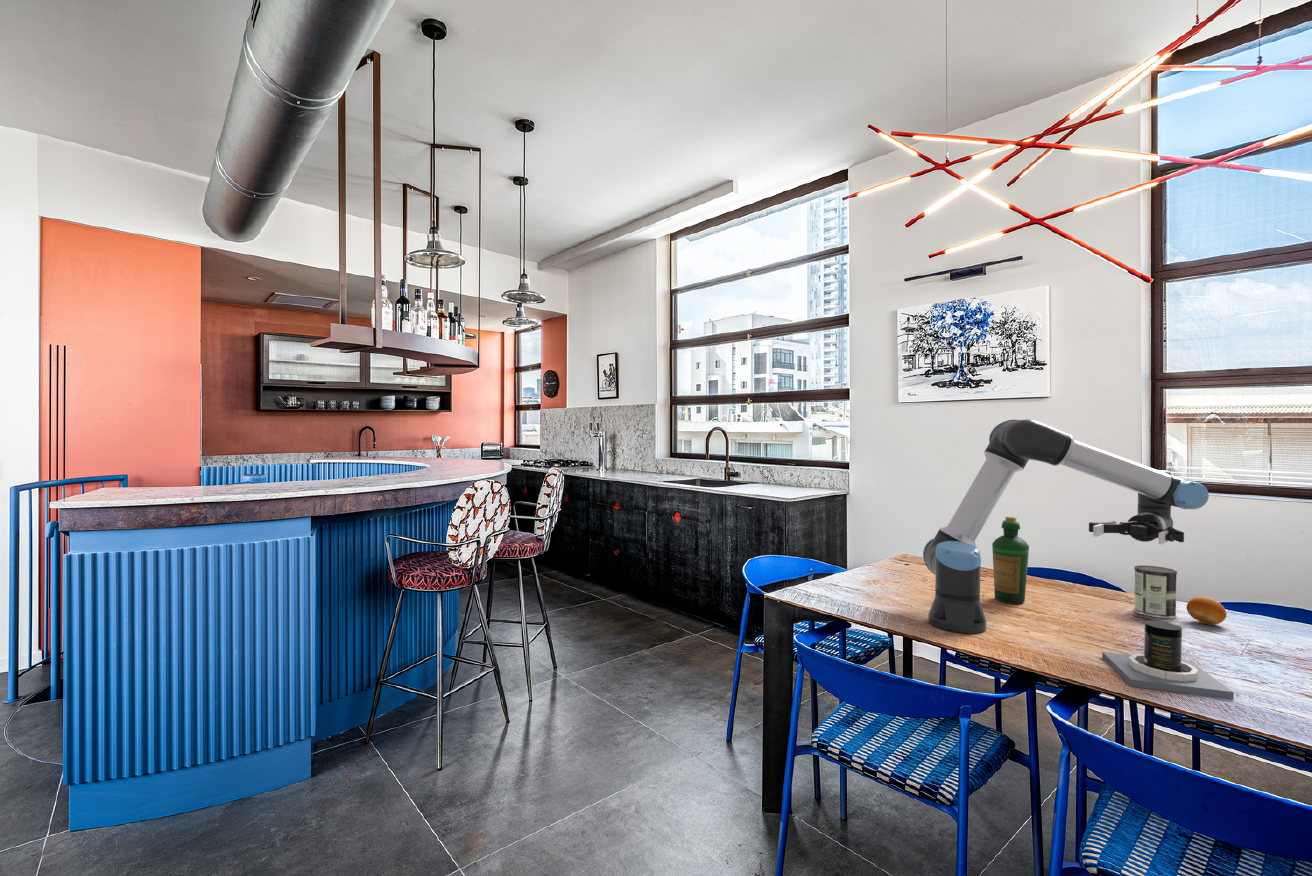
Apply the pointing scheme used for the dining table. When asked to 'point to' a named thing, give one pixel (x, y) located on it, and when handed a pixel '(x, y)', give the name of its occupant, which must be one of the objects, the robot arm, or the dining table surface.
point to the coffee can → (1155, 591)
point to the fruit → (1206, 610)
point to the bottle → (1010, 564)
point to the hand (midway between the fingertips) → (1126, 535)
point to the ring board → (1166, 676)
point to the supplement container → (1163, 646)
